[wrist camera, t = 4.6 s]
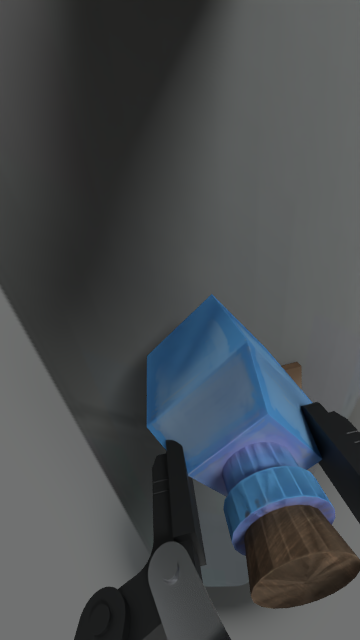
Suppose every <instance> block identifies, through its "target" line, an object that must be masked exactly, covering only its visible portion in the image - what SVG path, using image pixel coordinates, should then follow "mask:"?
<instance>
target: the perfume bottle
mask: <svg viewBox="0 0 360 640" xmlns="http://www.w3.org/2000/svg"><path fill="white" fill-rule="evenodd" d="M311 403H312V402H311V401H310V399H309V398H308V397H307V396H306V395H305V394H304V392H303V391H302V390H301V389H300V388H299V387H298V385H297V384H296V383H295V382H294V381H293V380H292V378H291V377H290V376H289V375H288V374H287V373H286V371H285V370H284V369H283V368H282V367H281V365H280V364H279V363H278V362H277V361H276V360H275V358H274V357H273V356H272V355H271V354H270V353H269V351H268V350H267V349H266V348H265V347H264V346H263V345H262V344H261V343H260V342H259V341H258V340H257V339H256V338H255V337H254V336H253V335H252V334H251V333H250V332H249V331H248V330H247V329H246V328H245V327H244V326H243V325H242V324H241V323H240V322H239V321H238V320H237V319H236V318H235V317H234V316H233V315H232V314H231V313H230V312H229V311H228V310H227V309H226V308H225V307H224V306H223V305H222V304H221V303H220V302H219V301H218V300H217V299H216V298H215V297H214V296H213V295H212V294H211V295H210V296H209V297H208V298H207V299H206V300H205V301H204V302H203V303H202V304H201V305H200V306H199V307H198V308H197V309H196V310H195V311H194V312H193V313H191V314H190V315H189V316H188V317H187V318H186V319H185V320H184V321H183V322H182V323H181V324H180V325H179V326H178V327H177V328H176V329H175V330H174V331H173V332H172V333H171V334H169V335H168V336H167V337H166V338H165V339H164V340H163V341H162V342H161V343H160V344H159V345H158V346H157V347H156V348H155V349H154V350H153V351H152V352H151V353H150V354H149V355H147V428H148V429H149V430H150V431H151V433H152V434H153V435H154V436H155V437H156V439H157V440H158V441H159V442H160V443H161V445H162V446H163V447H164V448H165V449H166V440H174V441H176V442H178V443H179V444H181V445H182V446H183V452H184V457H185V462H186V467H187V472H188V476H190V477H191V478H193V479H195V480H197V481H199V482H201V483H202V484H204V485H206V486H208V487H210V488H212V489H213V490H215V491H217V492H219V493H221V494H223V495H224V496H226V499H225V502H224V513H225V517H226V521H227V525H228V529H229V533H230V537H231V541H232V543H233V546H234V548H235V550H237V551H238V552H239V553H241V554H242V555H245V556H246V559H247V567H248V576H249V584H250V592H251V597H252V599H253V601H254V603H256V604H258V605H260V606H261V607H266V608H273V609H275V608H290V607H295V606H300V605H304V604H308V603H311V602H314V601H317V600H320V599H322V598H324V597H327V596H328V595H331V594H333V593H335V592H337V591H338V590H340V589H341V588H343V587H345V586H346V585H347V584H348V583H349V582H351V581H352V580H353V579H354V578H355V577H356V576H357V574H358V573H359V571H360V559H359V558H358V557H357V556H356V554H355V553H354V552H353V551H352V549H351V548H350V547H349V546H348V545H347V543H346V542H345V541H344V540H343V538H342V537H341V536H340V535H339V533H338V532H337V531H336V530H335V528H334V527H333V526H332V523H333V521H334V519H335V509H334V507H333V505H332V504H331V502H330V501H329V499H328V497H327V496H326V494H325V493H324V491H323V490H322V488H321V486H320V485H319V483H318V482H317V480H316V479H315V477H314V476H313V475H312V473H311V472H309V471H307V470H308V469H309V468H311V467H312V466H314V465H315V464H316V463H318V462H319V461H321V460H322V457H321V455H320V452H319V450H318V448H317V445H316V443H315V441H314V438H313V436H312V433H311V431H310V429H309V426H308V424H307V422H306V419H305V417H304V415H303V412H302V410H301V406H303V405H307V404H311Z"/></svg>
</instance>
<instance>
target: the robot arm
mask: <svg viewBox="0 0 360 640" xmlns="http://www.w3.org/2000/svg"><path fill="white" fill-rule="evenodd" d="M301 410H302V412H303V415H304V417H305V419H306V422H307V424H308V426H309V429H310V431H311V433H312V436H313V438H314V441H315V443H316V445H317V448H318V450H319V452H320V455H321V457H322V460H321V461H319V462H318V463H319V464H320V466H321V467H322V469H323V470H324V471H325V473H326V475H327V476H328V478H329V479H330V481H331V482H332V483H333V485H334V486H335V488H336V489H337V491H338V492H339V494H340V495H341V497H342V498H343V500H344V501H345V503H346V504H347V506H348V507H349V508H350V510H351V511H352V513H353V515H354V516H355V518H356V519H357V520H358V522H359V523H360V432H358V431H357V429H356V428H355V427H354V426H353V425H352V424H351V423H350V422H349V421H348V419H346V418H344V417H343V416H341V415H340V414H338V413H336V412H335V411H333V412H329V413H328V412H327V411H326V410H325V408H324V407H323V406H322V405H321V404H320V403H318V402H315V403H311V404H307V405H303V406H301ZM166 452H167V453H166V454H162V455H158V456H157V457H156V459H155V462H154V465H153V468H152V477H153V528H154V543H153V549H152V553H151V556H150V558H149V560H148V562H147V564H146V565H145V567H144V568H143V569H142V570H141V572H139V573H138V574H137V575H136V576H135V577H133V578H132V579H131V580H129V581H128V582H127V583H125V584H124V585H123V586H121V587H120V588H119V589H116V588H114V587H105V588H102V589H100V590H99V591H97V592H96V593H95V594H94V595H93V596H92V597H91V598H90V600H89V601H88V603H87V604H86V606H85V608H84V610H83V612H82V614H81V617H80V621H79V624H78V628H77V631H76V635H75V638H74V640H231V639H230V637H229V635H228V633H227V632H226V630H225V628H224V626H223V624H222V622H221V620H220V618H219V616H218V613H217V611H216V610H215V607H214V605H213V603H212V601H211V599H210V597H209V595H208V593H207V591H206V589H205V587H204V585H203V581H202V575H201V568H200V566H203V565H206V559H205V553H204V547H203V541H202V535H201V529H200V523H199V517H198V511H197V505H196V499H195V493H194V487H193V481H192V478H191V477H190V476H188V472H187V467H186V462H185V457H184V452H183V446H182V445H181V444H179V443H178V442H176V441H174V440H166Z"/></svg>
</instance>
